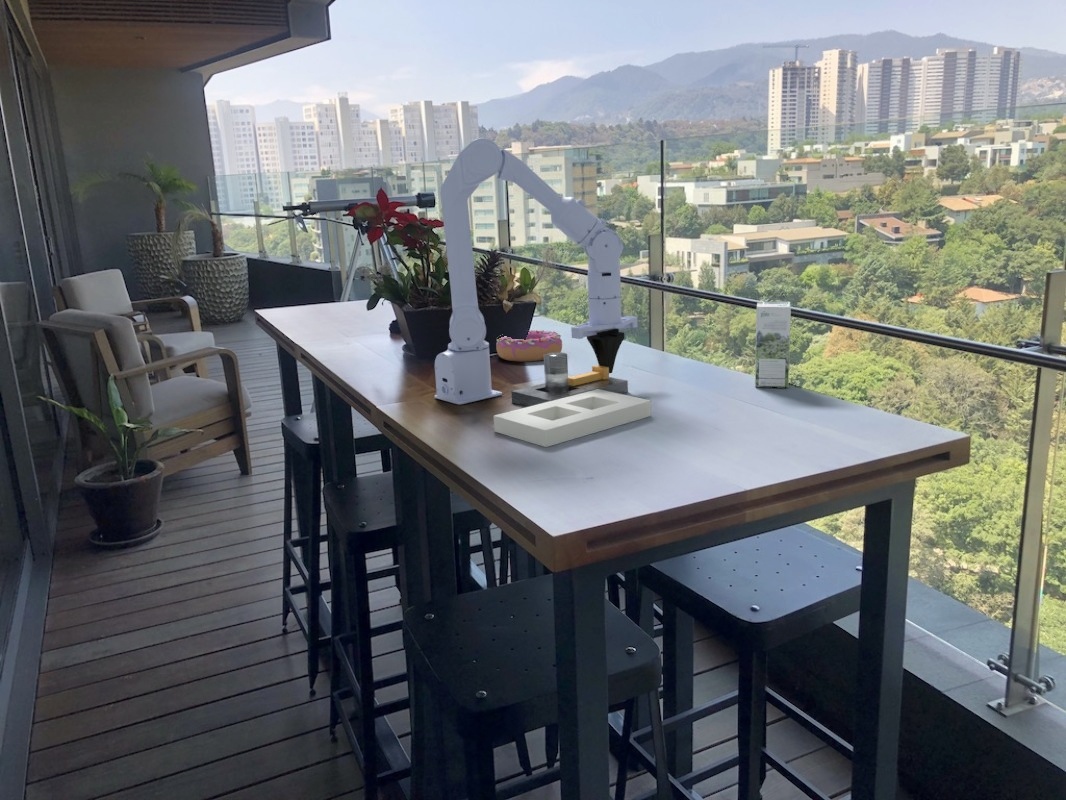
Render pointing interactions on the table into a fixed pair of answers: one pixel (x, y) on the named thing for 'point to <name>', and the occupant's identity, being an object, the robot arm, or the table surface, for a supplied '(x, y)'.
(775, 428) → the table surface
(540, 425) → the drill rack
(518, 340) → the donut
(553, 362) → the brushed steel cylinder
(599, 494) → the table surface
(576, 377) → the bar
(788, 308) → the syrup box
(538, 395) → the dark grey socket tray
